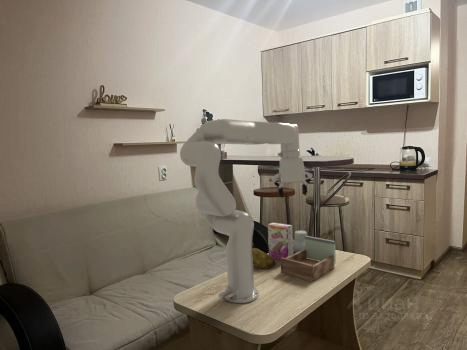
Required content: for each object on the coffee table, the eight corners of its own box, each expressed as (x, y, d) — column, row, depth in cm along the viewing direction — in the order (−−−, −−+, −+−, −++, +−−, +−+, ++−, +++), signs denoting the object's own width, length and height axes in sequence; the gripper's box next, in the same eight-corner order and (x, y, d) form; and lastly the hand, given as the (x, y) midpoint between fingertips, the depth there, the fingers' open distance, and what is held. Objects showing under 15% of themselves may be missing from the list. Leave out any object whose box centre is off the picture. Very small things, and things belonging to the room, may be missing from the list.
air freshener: (301, 256, 165) (301, 235, 164) (287, 252, 171) (287, 233, 170) (314, 250, 172) (314, 230, 171) (300, 247, 178) (300, 228, 177)
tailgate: (334, 264, 148) (333, 241, 147) (305, 257, 159) (304, 236, 158) (335, 263, 149) (335, 241, 148) (306, 256, 159) (306, 235, 158)
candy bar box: (268, 257, 165) (266, 224, 163) (274, 254, 169) (272, 222, 167) (288, 262, 158) (287, 227, 156) (294, 259, 162) (292, 224, 160)
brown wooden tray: (311, 281, 135) (311, 265, 135) (280, 272, 146) (280, 257, 145) (334, 268, 148) (334, 253, 147) (304, 260, 159) (304, 247, 158)
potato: (267, 272, 147) (266, 254, 146) (243, 266, 155) (242, 249, 154) (277, 266, 153) (276, 249, 152) (254, 261, 161) (253, 244, 161)
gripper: (271, 157, 136) (274, 199, 139) (314, 153, 138) (316, 195, 140) (267, 156, 144) (270, 196, 146) (308, 152, 145) (310, 192, 147)
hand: (293, 195), depth 143 cm, fingers open, 9 cm apart
